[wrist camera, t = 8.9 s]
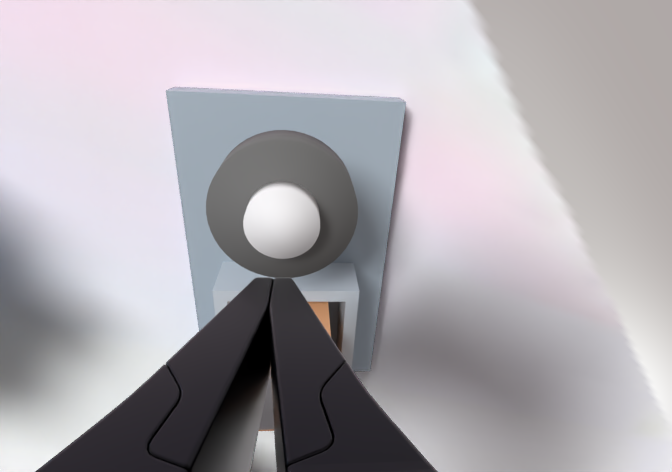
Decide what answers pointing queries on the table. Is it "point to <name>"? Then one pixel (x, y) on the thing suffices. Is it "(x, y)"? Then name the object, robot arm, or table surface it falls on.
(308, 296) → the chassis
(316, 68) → the table surface
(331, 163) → the wheel
